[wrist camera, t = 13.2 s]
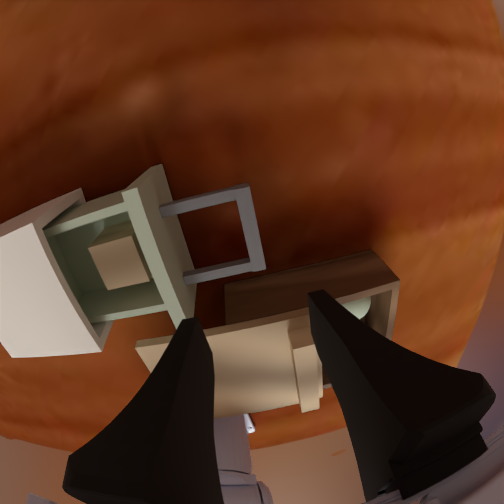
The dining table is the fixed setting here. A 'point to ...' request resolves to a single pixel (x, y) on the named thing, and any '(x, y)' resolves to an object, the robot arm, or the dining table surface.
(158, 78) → the dining table surface
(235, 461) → the robot arm
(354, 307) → the pale green ball
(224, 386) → the box lid
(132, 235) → the small oak cube
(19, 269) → the white cabinet
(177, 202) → the drawer
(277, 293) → the walnut box
